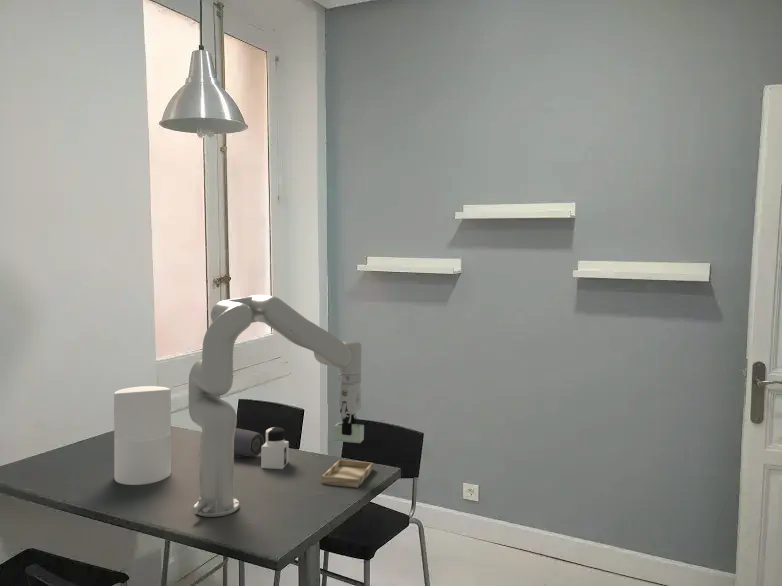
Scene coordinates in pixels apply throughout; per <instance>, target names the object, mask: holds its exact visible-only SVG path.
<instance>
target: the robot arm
mask: <svg viewBox="0 0 782 586" xmlns="http://www.w3.org/2000/svg"><path fill="white" fill-rule="evenodd" d="M210 319H211V324H210V325H209V327H208V328H207V330H206V332H205V333H204V336H203V340H202V351H201V353H202V354H201V359H199V360H197V361H196V362H195V363H194V364H193V365H192V366H191V368H190V372H189V375H188V414H189V417H190V420H191V421H192V422H193V423H194V424H195V425H197V426H198V427H200V428H201V429H202V431H201V435H202V436H201V435H200V440H199V441H200V442H199V450H198V451H199V452H198V455H199V497H198V501H197V502H196V503H195V504H194V505H193V507H192V508H191V513H192V514H194V515H197V516H201V517H207V518H212V517H213V518H217V517H223V516H227V515H230V514H233V513H235V512H236V511H238V509H239V508H240V501H239V500H238V499H237V498H235V497H234V496H235V495H234V494H235V493H234V492H235V489H234V487H235V484H234V483H235V457H234V436H235V430H236V428H237V421H238V416H237V411H236V410H235V408H234V407H233V405H231V404H230V403H229V402H228V401H226V400H224V399H222V398H221V396H224V395H226V394H227V393H229V391H231V389H232V386H233V382H234V362H233V361H234V348H235V343H236V340H237V339H238V337H239V336H240V335H241V334H242V333H243V332H244V331H246V330H247V329H248V328H249V327H250V326H251V324H253V323H258V322H259V323H263V324H265V325H267V326H268V327H270V328H271V329H272V330H274V331H275V332H277V333H278V334H280V335H281V336H282V337H284V338H285V339H286V340H288V341H289V342H290V343H293V344H295V345H297V346H299V347H302V348H304V349H307V350H309V351H312V352H313V356H314V358H315V360H316V361H317V362H318V363H320V364H323V365H325V366H330V367H334V368H337V369H338V377H337V378H338V379H337V380H338V384H339V385H340V386H339V395H338V397H339V398H338V411H339V412H338V413H339V414H340V419H341V423H342V435H351V434H352V424H357V412H358V411H360V410H361V408H362V395H361V393H362V392H361V391H362V390H361V383H362V344H361V342H360V341H357V340H344V341H342V340H340V339H339V338H337V337H336V336H335V335H333V334H332V333H330V332H328V331H327V330H325V329H324V328H322V327H320V326H319V325H317V324H315V323H314V322H312V321H310V320H309V319H307V317H304V316H303V315H302V314H300V313H299V312H297V311H296V310H295V309H294V308H292V307H291V306H290V305H288V303H286V302H285V301H283V300H282V299H281V298H279V297H277V296H274V295H267V294H254V295H248V296H244V297H238V298H229V299H225V300H223V299H222V300H220V301H218V302H217V303H216V304H215V305H213V306H212V308H211V311H210Z"/></svg>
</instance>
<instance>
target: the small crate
mask: <svg viewBox="0 0 782 586" xmlns="http://www.w3.org/2000/svg"><path fill="white" fill-rule="evenodd" d="M333 428H334V429H333V431H334V433H333V437H334V438H333V440H334V441H335V442H345V443H354V444H362V442H363V441H364V439H365V425H364V424H357V423H356V424H352V434H351V435H342V422H337V423H336V424H334V427H333Z"/></svg>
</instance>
